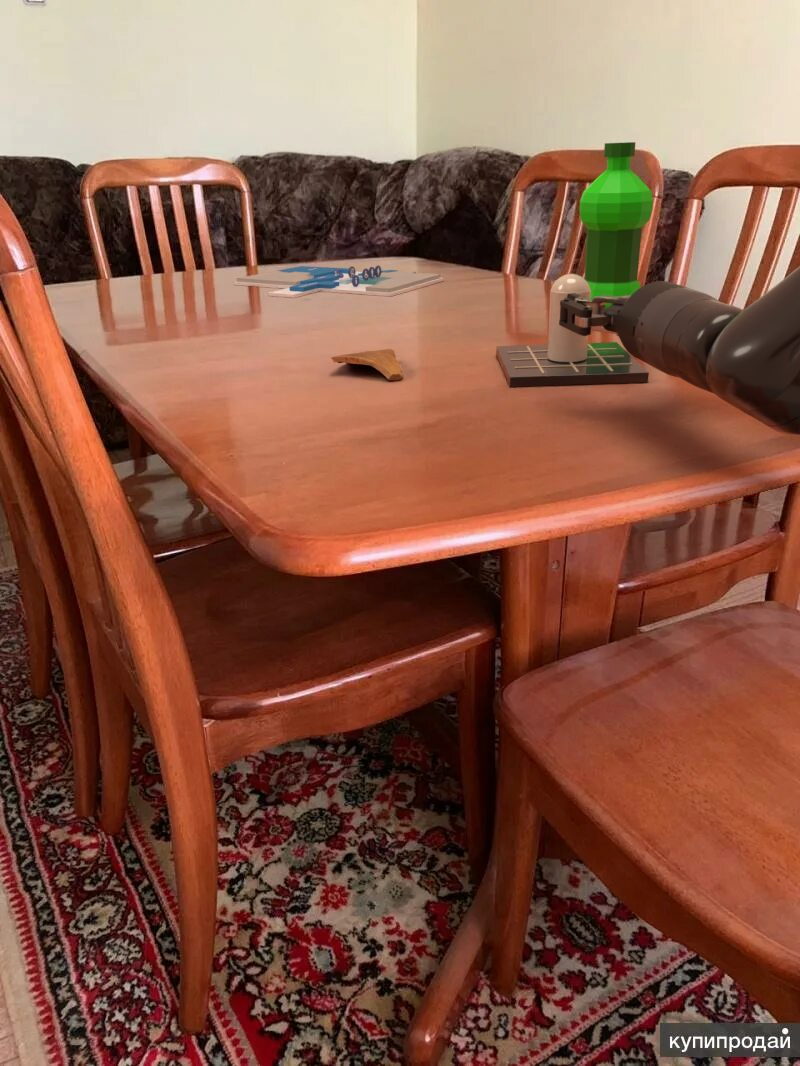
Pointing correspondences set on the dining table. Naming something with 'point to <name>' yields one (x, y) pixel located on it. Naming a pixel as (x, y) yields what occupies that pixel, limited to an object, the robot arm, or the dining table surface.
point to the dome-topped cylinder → (560, 339)
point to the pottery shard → (375, 362)
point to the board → (569, 366)
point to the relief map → (339, 281)
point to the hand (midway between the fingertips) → (607, 300)
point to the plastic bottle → (615, 224)
